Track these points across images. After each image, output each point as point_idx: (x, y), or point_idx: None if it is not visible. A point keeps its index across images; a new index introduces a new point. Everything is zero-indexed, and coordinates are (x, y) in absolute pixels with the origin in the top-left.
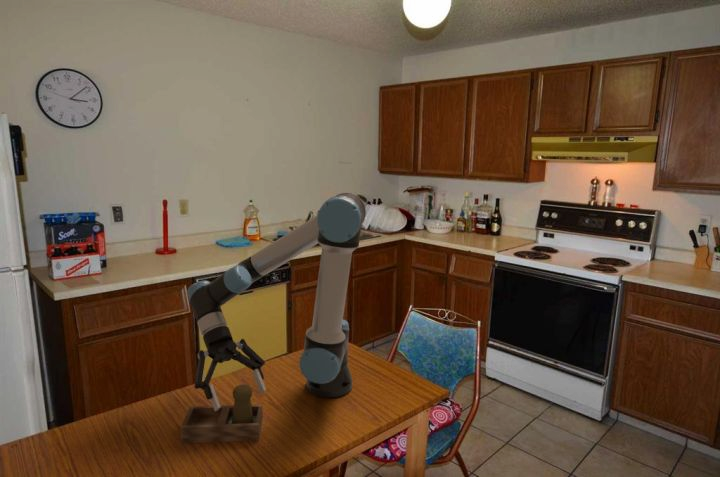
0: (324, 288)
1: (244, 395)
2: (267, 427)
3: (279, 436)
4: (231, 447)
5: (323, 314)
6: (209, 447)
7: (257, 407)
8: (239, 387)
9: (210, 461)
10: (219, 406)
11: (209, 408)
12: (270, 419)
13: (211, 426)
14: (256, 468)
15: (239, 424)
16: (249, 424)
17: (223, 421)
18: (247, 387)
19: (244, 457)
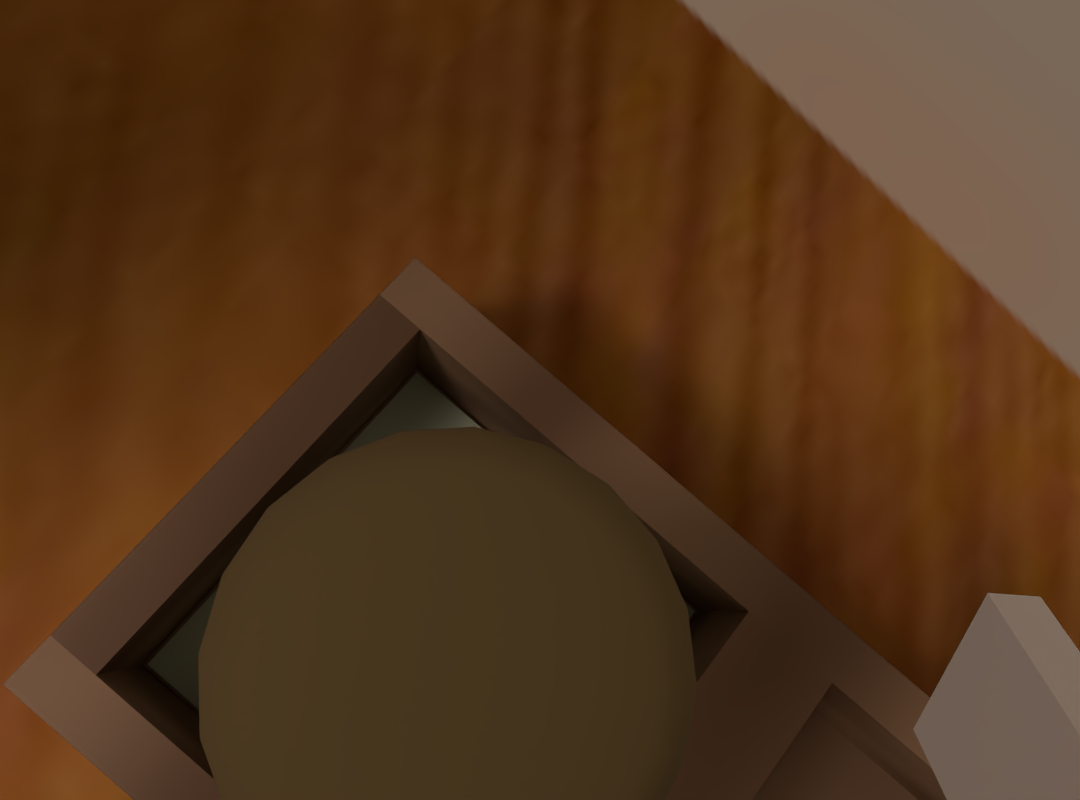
0: None
1: (536, 444)
2: (178, 459)
3: (198, 222)
4: (692, 436)
5: None
6: (863, 601)
7: (117, 686)
8: (538, 716)
9: (939, 395)
10: (1012, 609)
11: None
12: (27, 579)
13: (906, 689)
14: (670, 21)
15: (602, 455)
16: (499, 360)
17: (732, 682)
18: (352, 575)
19: (673, 214)
